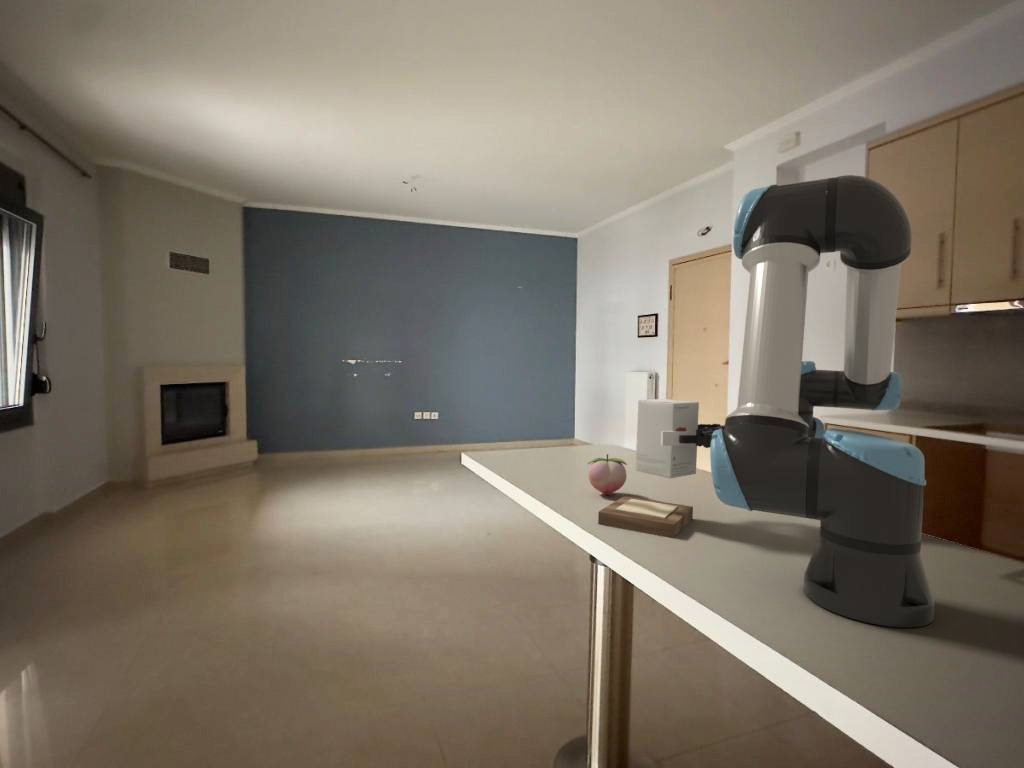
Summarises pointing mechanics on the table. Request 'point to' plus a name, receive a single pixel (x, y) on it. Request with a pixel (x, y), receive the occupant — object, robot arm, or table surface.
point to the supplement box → (649, 427)
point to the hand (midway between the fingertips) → (649, 434)
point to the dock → (646, 516)
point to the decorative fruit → (607, 474)
